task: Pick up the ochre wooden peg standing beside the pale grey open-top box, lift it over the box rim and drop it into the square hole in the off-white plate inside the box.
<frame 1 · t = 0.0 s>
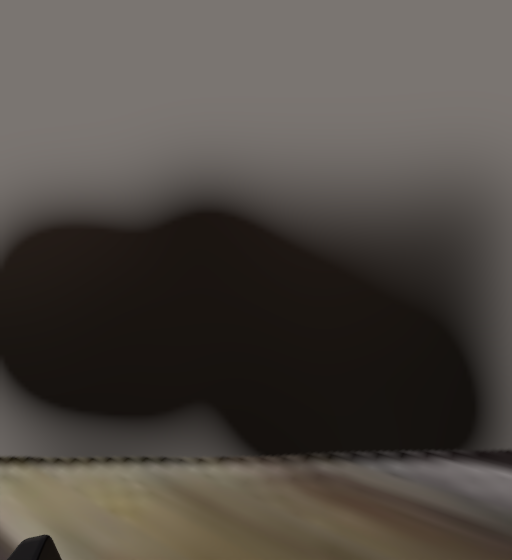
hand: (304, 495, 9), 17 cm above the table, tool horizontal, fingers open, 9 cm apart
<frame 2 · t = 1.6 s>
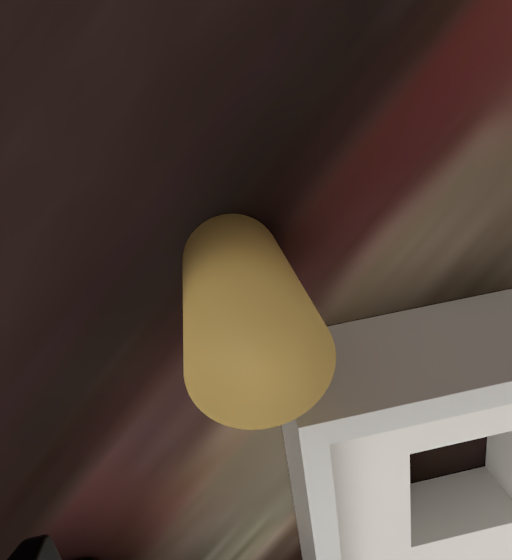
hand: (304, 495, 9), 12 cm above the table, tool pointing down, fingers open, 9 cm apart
socket box: (435, 436, 25), on the table
peg: (231, 260, 19), on the table
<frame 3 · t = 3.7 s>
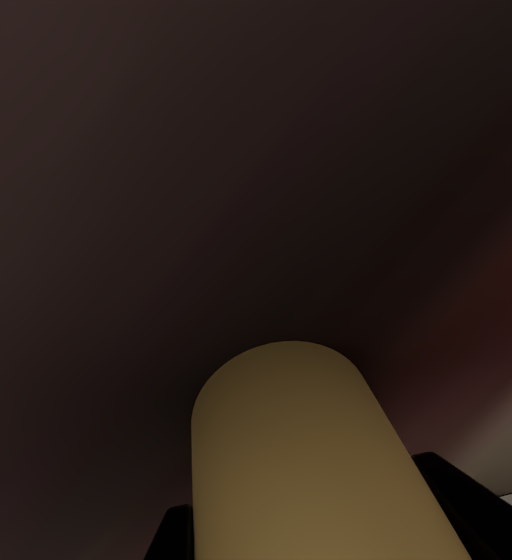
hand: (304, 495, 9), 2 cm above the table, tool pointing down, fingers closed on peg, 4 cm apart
peg: (282, 419, 10), on the table, touching gripper
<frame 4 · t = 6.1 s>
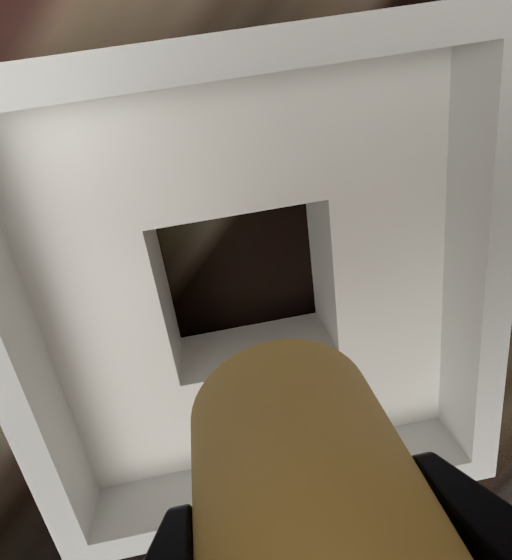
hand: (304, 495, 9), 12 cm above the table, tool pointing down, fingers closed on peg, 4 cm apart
socket box: (238, 262, 19), on the table
peg: (282, 417, 10), point 10 cm above the table, touching gripper
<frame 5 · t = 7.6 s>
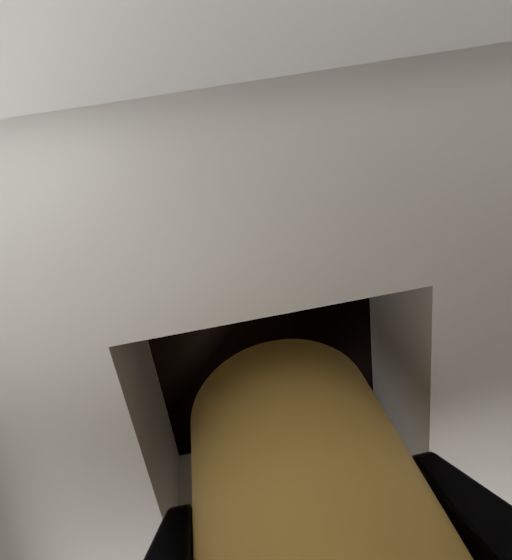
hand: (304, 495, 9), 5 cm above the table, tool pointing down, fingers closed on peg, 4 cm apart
socket box: (265, 351, 13), on the table
peg: (282, 417, 10), point 3 cm above the table, touching gripper
when the fingers open (4 cm above the table, at t = 8.7 s): peg drops 2 cm, resting in socket box.
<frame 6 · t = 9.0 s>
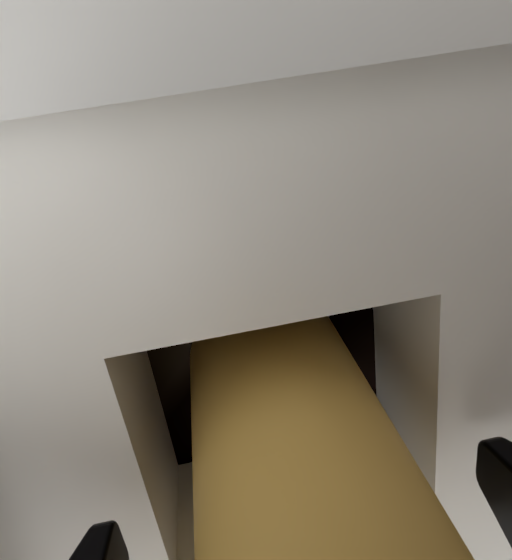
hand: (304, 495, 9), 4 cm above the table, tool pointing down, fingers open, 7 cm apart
socket box: (266, 359, 13), on the table
peg: (265, 356, 13), resting in socket box
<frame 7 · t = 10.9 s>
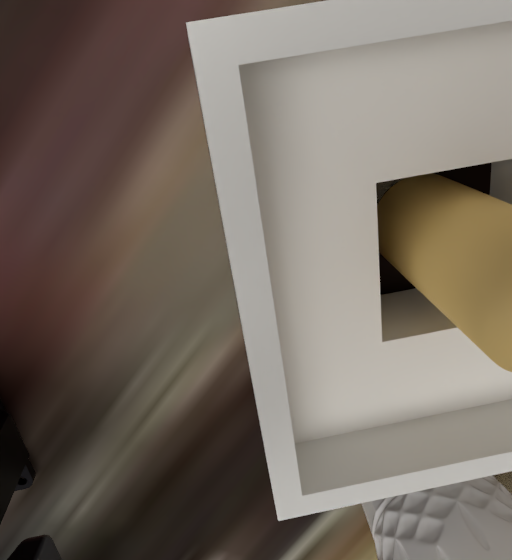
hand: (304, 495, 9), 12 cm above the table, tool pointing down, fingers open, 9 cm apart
white cup: (417, 478, 26), on the table
socket box: (419, 223, 19), on the table
peg: (418, 221, 19), resting in socket box
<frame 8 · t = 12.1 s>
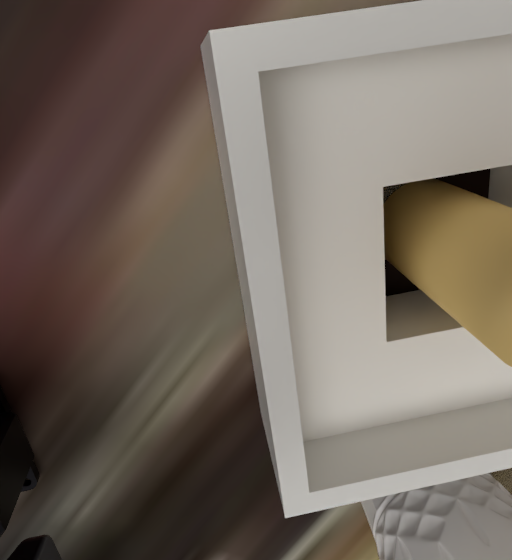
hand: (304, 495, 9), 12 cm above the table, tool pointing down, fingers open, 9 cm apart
white cup: (415, 478, 26), on the table
socket box: (420, 226, 20), on the table
peg: (419, 225, 20), resting in socket box
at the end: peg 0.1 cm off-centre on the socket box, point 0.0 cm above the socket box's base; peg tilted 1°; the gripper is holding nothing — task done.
